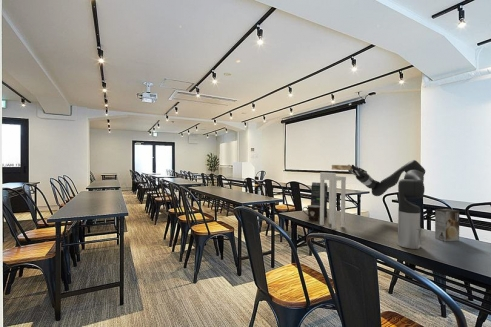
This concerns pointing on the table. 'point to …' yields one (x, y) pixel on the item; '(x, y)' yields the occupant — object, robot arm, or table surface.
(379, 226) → the table surface
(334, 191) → the white stand
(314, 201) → the headset box
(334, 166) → the oak paddle
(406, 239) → the robot arm
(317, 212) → the coffee mug
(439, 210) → the coffee box
